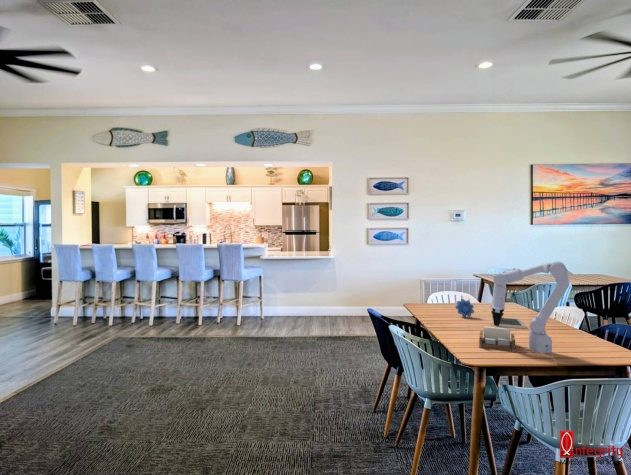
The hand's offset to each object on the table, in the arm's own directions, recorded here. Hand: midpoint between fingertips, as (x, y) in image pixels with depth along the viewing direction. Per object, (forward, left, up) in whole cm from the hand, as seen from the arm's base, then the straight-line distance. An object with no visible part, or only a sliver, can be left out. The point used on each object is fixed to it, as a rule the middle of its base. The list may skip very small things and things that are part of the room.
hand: (496, 324), depth 201 cm
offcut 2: (-8, +3, -10) cm, 13 cm away
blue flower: (+59, -22, -11) cm, 64 cm away
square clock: (+37, -38, -12) cm, 54 cm away
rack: (+1, -1, -11) cm, 11 cm away
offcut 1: (-5, +7, -10) cm, 13 cm away
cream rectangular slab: (-1, 0, -10) cm, 10 cm away
